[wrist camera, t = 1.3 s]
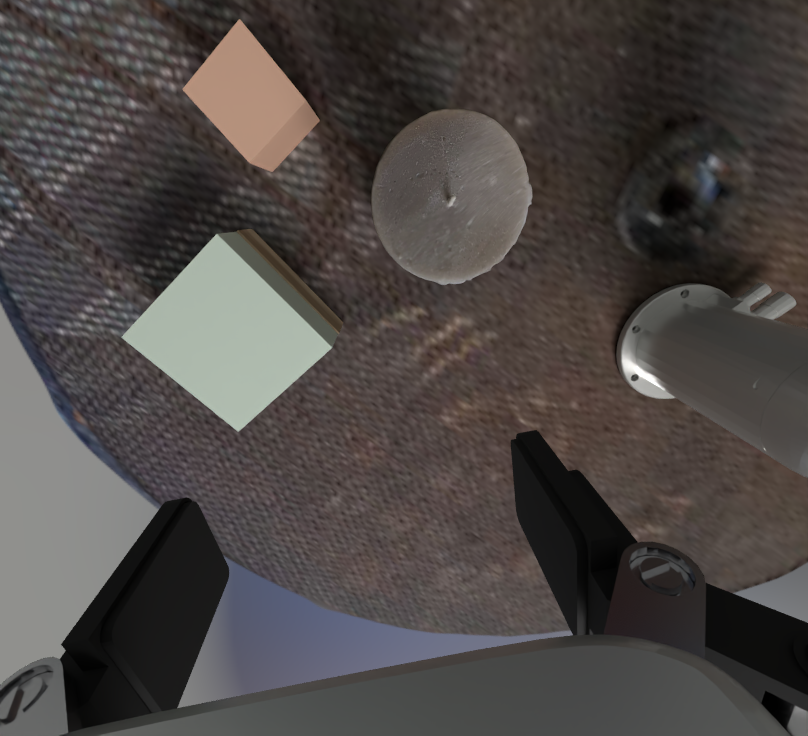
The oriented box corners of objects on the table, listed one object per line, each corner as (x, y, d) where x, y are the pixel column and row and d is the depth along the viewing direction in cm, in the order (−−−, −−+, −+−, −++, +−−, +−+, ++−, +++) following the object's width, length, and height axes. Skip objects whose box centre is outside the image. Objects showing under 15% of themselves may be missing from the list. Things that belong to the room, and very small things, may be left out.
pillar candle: (364, 159, 34) (347, 124, 20) (472, 133, 33) (533, 78, 19) (388, 269, 37) (389, 304, 24) (487, 247, 37) (546, 269, 23)
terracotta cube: (266, 54, 31) (239, 18, 25) (320, 120, 33) (306, 100, 27) (218, 111, 32) (182, 89, 27) (272, 172, 34) (249, 163, 28)
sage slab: (236, 231, 32) (216, 233, 28) (338, 333, 36) (332, 347, 32) (150, 324, 35) (121, 337, 31) (252, 410, 38) (238, 431, 35)
